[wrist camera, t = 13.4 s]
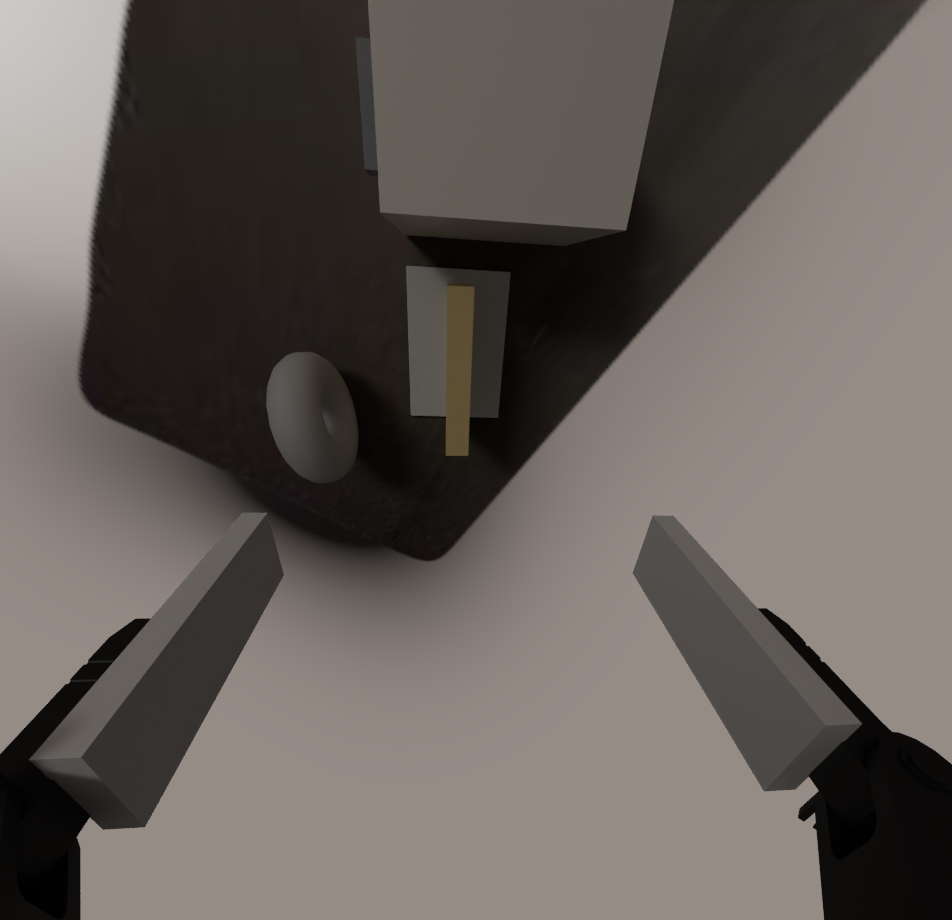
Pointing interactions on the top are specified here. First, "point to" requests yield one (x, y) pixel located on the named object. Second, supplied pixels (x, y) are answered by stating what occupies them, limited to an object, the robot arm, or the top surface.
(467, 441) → the yellow rectangular slab
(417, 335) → the mat
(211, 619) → the robot arm
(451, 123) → the large beige block
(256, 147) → the top surface
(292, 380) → the donut
